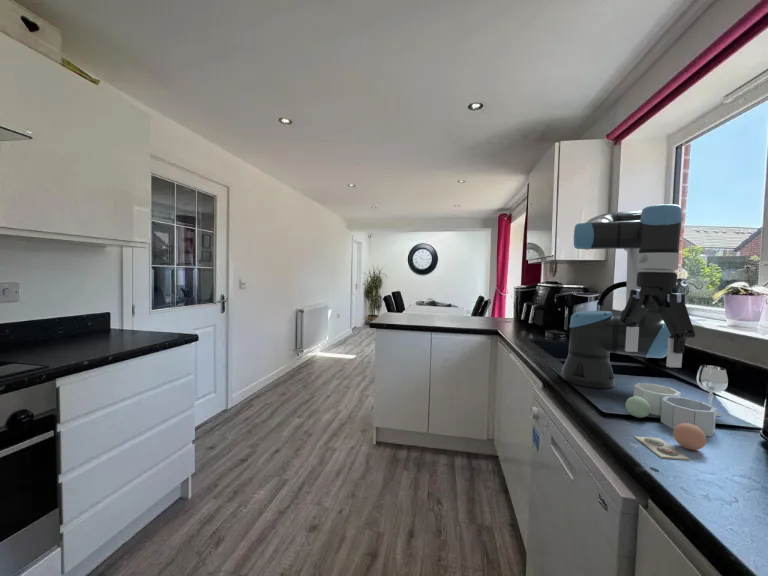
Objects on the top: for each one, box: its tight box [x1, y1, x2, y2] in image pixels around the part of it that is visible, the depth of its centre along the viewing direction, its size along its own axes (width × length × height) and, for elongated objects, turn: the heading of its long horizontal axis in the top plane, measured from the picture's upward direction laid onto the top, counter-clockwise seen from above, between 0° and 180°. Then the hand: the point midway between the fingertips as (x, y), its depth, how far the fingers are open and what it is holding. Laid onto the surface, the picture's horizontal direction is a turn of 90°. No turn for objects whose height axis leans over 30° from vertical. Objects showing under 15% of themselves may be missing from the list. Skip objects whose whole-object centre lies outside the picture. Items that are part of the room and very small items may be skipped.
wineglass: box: [696, 364, 729, 418], centre depth 87 cm, size 6×6×12 cm
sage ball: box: [624, 396, 651, 419], centre depth 84 cm, size 5×5×5 cm
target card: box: [634, 435, 690, 461], centre depth 69 cm, size 8×5×1 cm, turn 174°
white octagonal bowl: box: [632, 382, 681, 417], centre depth 89 cm, size 9×9×6 cm
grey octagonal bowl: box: [660, 396, 717, 437], centre depth 79 cm, size 9×9×6 cm
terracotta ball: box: [673, 423, 707, 451], centre depth 69 cm, size 5×5×5 cm
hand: (650, 358), depth 82 cm, fingers open, 13 cm apart
